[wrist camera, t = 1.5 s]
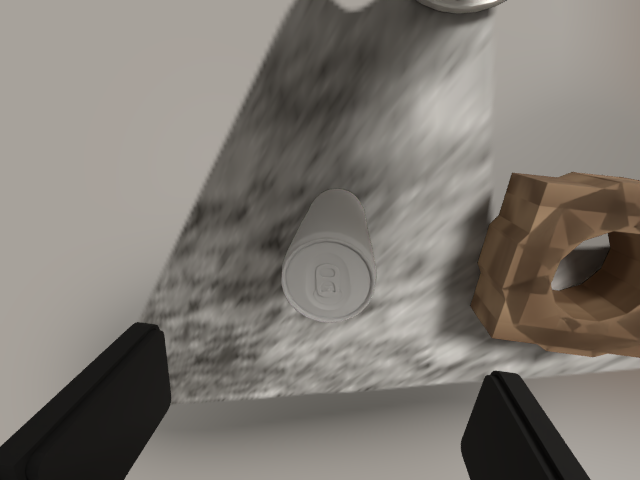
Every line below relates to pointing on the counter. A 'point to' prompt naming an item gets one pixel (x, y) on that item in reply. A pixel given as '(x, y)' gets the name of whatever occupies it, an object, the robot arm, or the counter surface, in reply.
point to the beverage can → (330, 260)
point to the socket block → (544, 257)
